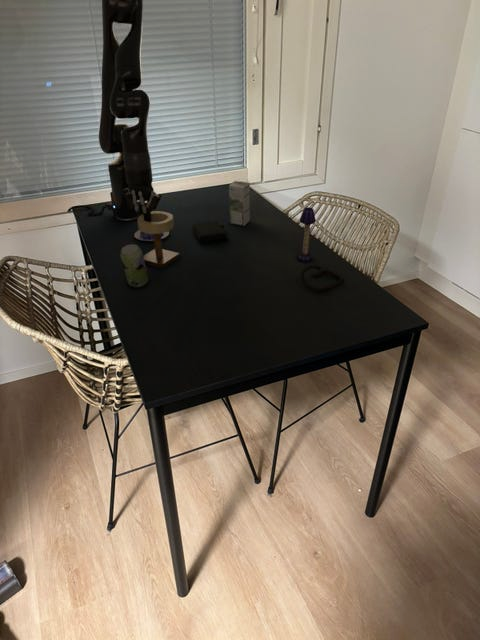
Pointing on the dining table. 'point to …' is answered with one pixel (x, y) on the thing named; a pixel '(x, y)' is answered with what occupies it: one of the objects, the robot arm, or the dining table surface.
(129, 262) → the beverage can
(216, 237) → the carrying case
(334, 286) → the metal loop
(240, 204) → the syrup box
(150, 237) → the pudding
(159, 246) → the peg stand
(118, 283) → the dining table surface
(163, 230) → the tape roll
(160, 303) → the dining table surface
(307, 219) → the purple spotted mushroom
